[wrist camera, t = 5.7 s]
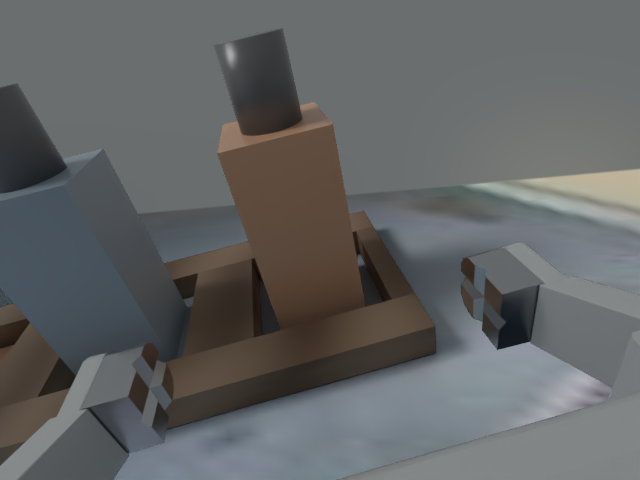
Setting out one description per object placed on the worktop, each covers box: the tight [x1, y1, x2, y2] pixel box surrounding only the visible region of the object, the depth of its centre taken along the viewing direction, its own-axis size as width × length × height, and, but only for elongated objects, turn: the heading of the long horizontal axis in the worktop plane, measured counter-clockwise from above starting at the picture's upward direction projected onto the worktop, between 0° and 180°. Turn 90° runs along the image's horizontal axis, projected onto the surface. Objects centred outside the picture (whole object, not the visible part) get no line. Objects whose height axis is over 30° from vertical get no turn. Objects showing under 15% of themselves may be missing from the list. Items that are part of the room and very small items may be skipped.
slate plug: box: [0, 84, 187, 375], centre depth 15 cm, size 4×4×12 cm
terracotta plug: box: [214, 28, 366, 330], centre depth 16 cm, size 4×4×12 cm
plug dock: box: [0, 211, 436, 466], centre depth 18 cm, size 26×10×2 cm, turn 100°
